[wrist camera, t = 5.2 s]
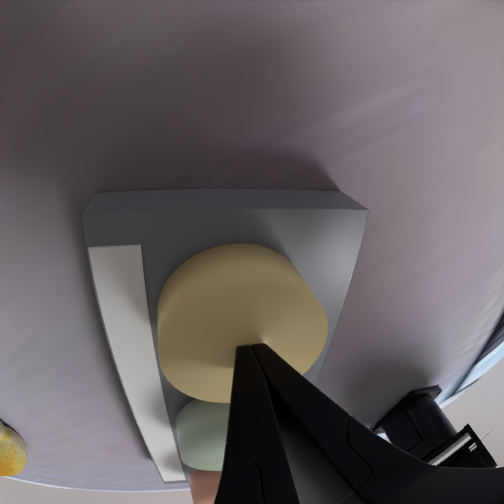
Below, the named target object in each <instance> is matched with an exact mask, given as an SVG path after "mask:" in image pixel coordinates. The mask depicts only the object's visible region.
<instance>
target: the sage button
mask: <svg viewBox="0 0 504 504" xmlns="http://www.w3.org/2000/svg"><path fill="white" fill-rule="evenodd" d="M229 406H230V403H217V402H209V401H203V400H200V399H195V400H193V401H191V402H189V403H188V404H186V405H185V406H184V407H183V408H182V409H181V410H180V411H179V412H178V414H177V416H176V429H177V436H178V443H179V450H180V456H181V460H182V461H183V462H184V463H185V464H186V465H188V466H190V467H192V468H195V469H199V470H206V471H222V466H223V459H224V451H225V444H226V434H227V424H228V415H229Z"/></svg>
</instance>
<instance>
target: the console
mask: <svg viewBox="0 0 504 504" xmlns="http://www.w3.org/2000/svg"><path fill="white" fill-rule="evenodd" d="M368 213H369V210H368V209H367V208H365V207H364V206H362V205H361V204H359V203H358V202H356V201H355V200H353V199H352V198H350V197H349V196H347V195H346V194H344V193H343V192H341V191H328V190H303V189H264V188H198V189H160V190H136V191H117V192H101V193H95V194H94V196H93V197H92V199H91V200H90V202H89V203H88V205H87V207H86V208H85V210H84V211H83V213H82V214H81V219H82V226H83V233H84V239H85V246H86V251H87V257H88V262H89V268H90V273H91V277H92V282H93V287H94V291H95V296H96V300H97V304H98V308H99V312H100V316H101V320H102V324H103V327H104V331H105V335H106V338H107V342H108V345H109V348H110V352H111V355H112V358H113V361H114V364H115V367H116V370H117V373H118V376H119V379H120V382H121V385H122V388H123V390H124V393H125V396H126V399H127V401H128V404H129V406H130V409H131V412H132V414H133V417H134V419H135V421H136V424H137V426H138V429H139V431H140V433H141V436H142V438H143V440H144V442H145V445H146V447H147V449H148V451H149V453H150V456H151V458H152V460H153V462H154V464H155V466H156V468H157V470H158V472H159V474H160V476H161V478H162V480H163V482H164V484H173V483H188V482H189V476H190V474H192V473H193V472H195V471H197V470H199V469H195V468H192V467H190V466H188V465H186V464H185V463H184V462H183V461H182V460H181V456H180V450H179V443H178V436H177V429H176V416H177V414H178V412H179V411H180V410H181V409H182V408H183V407H184V406H185V405H186V404H188V403H189V402H191V401H193V400H195V399H196V398H193V397H191V396H188V395H186V394H184V393H182V392H181V391H179V390H178V389H176V388H175V387H174V386H173V385H172V384H171V383H170V382H169V381H168V380H167V378H166V377H165V376H164V374H163V372H162V370H161V367H160V363H159V353H158V322H157V306H158V300H159V296H160V293H161V291H162V288H163V286H164V284H165V283H166V281H167V280H168V278H169V277H170V276H171V274H172V273H173V272H174V271H175V270H176V269H177V268H178V267H179V266H181V265H182V264H183V263H184V262H185V261H187V260H188V259H190V258H192V257H193V256H195V255H197V254H199V253H201V252H203V251H205V250H208V249H211V248H214V247H218V246H222V245H227V244H237V243H239V244H254V245H260V246H263V247H267V248H270V249H272V250H274V251H277V252H278V253H280V254H281V255H283V256H285V257H286V258H287V259H288V260H289V261H290V262H291V263H292V264H293V265H294V266H295V268H296V269H297V270H298V272H299V273H300V275H301V276H302V278H303V279H304V281H305V282H306V284H307V285H308V286H309V288H310V289H311V291H312V292H313V294H314V295H315V297H316V298H317V300H318V301H319V302H320V304H321V305H322V307H323V309H324V311H325V313H326V316H327V320H328V335H327V339H326V343H325V345H324V348H323V350H322V352H321V353H320V355H319V357H318V358H317V360H316V361H315V362H314V364H313V365H312V366H311V367H310V368H309V369H308V370H307V371H306V372H305V373H304V374H303V375H302V376H304V377H305V378H306V379H307V380H308V381H310V382H311V383H312V384H313V385H314V386H315V385H316V382H317V379H318V377H319V374H320V372H321V369H322V366H323V363H324V361H325V358H326V355H327V352H328V350H329V347H330V344H331V341H332V338H333V335H334V332H335V329H336V326H337V323H338V320H339V317H340V314H341V311H342V308H343V305H344V301H345V298H346V295H347V292H348V288H349V285H350V281H351V278H352V275H353V271H354V267H355V264H356V260H357V257H358V253H359V249H360V245H361V241H362V237H363V233H364V229H365V225H366V221H367V217H368Z"/></svg>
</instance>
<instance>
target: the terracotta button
mask: <svg viewBox="0 0 504 504" xmlns="http://www.w3.org/2000/svg"><path fill="white" fill-rule="evenodd" d="M221 472H222V471H206V470H197V471H195V472H193V473H192V474H190V476H189V483H190V489H191V494H192V498H193V503H194V504H213V503H214V500H215V496H216V493H217V489H218V485H219V481H220V477H221Z"/></svg>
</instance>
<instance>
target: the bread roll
mask: <svg viewBox="0 0 504 504" xmlns="http://www.w3.org/2000/svg"><path fill="white" fill-rule="evenodd" d="M27 456H28V455H27V447H26V444H25V442H24V440H23V439H22V438H21V437H20V436H19V435H18V434H17V433H16V432H15V431H13V430H12V429H11V428H9V427H8V426H5V425H3V423H2V422H1V420H0V476H12V475H16V474H18V473H20V472H21V471H22V470H23V468H24V467H25V464H26V462H27Z"/></svg>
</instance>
